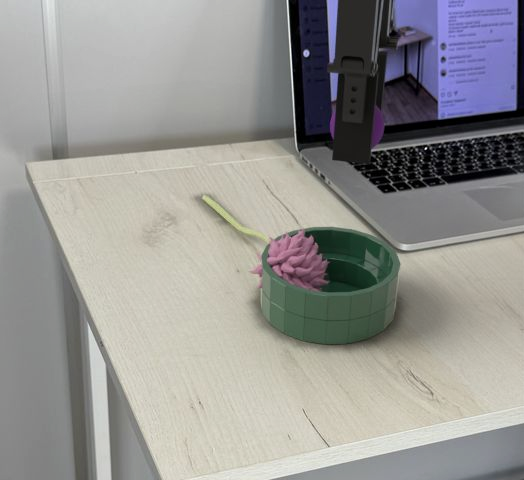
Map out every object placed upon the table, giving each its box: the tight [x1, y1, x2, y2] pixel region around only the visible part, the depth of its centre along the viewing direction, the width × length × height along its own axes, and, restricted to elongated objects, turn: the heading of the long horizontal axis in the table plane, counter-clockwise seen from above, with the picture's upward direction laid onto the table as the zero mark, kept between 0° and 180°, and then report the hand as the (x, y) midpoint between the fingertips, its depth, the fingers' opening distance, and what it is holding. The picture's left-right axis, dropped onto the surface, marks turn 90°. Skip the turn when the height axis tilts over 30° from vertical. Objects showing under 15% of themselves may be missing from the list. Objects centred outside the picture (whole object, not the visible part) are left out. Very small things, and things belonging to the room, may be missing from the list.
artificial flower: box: [201, 194, 330, 291], centre depth 80 cm, size 7×7×25 cm
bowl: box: [260, 226, 402, 345], centre depth 73 cm, size 11×11×5 cm
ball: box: [329, 106, 385, 149], centre depth 65 cm, size 4×4×4 cm
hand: (356, 147), depth 66 cm, fingers closed on ball, 4 cm apart
